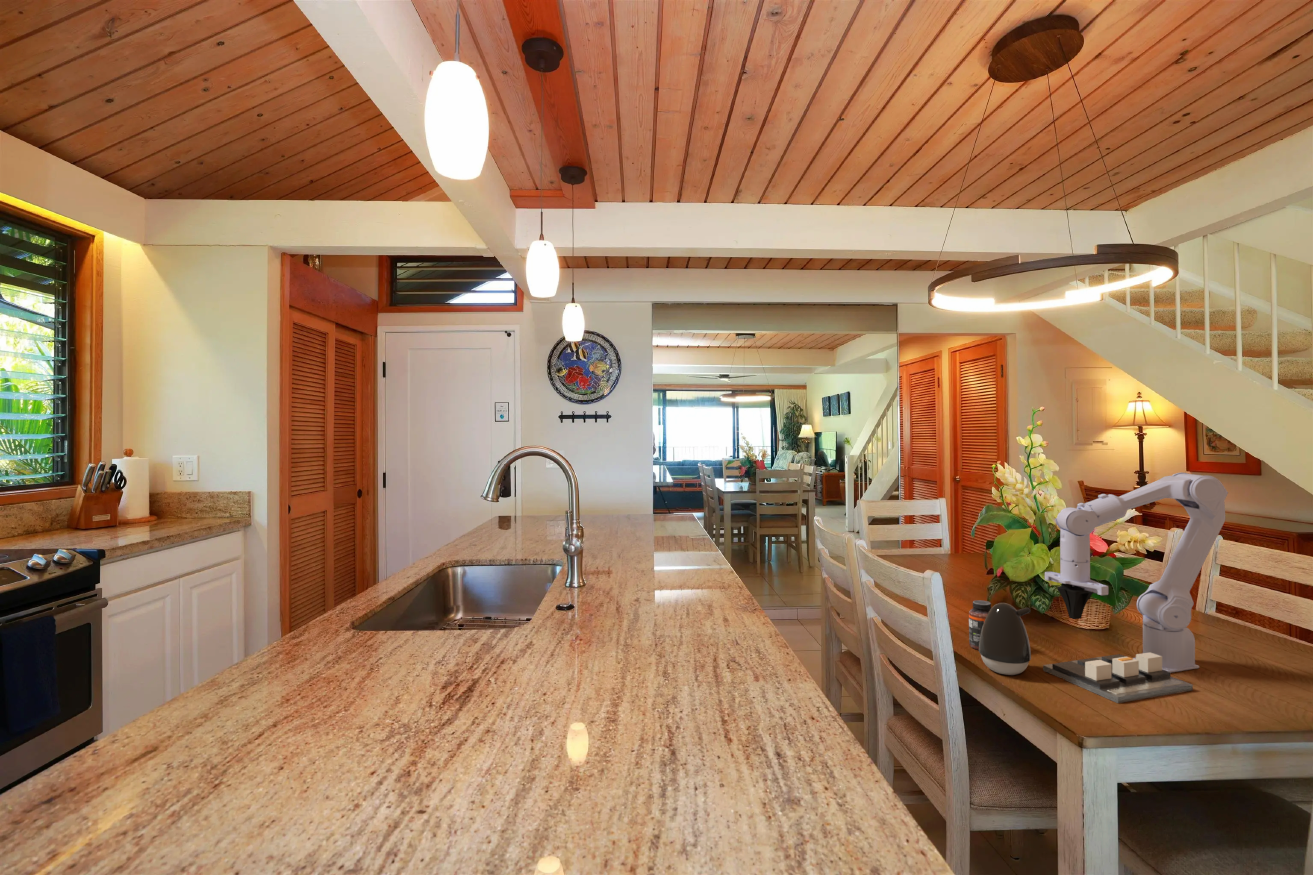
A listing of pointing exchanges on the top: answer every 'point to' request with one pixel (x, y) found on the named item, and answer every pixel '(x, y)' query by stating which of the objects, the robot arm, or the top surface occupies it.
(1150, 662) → the block
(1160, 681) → the breaker panel
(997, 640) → the pump dispenser
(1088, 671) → the block
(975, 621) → the supplement bottle
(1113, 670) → the breaker middle
